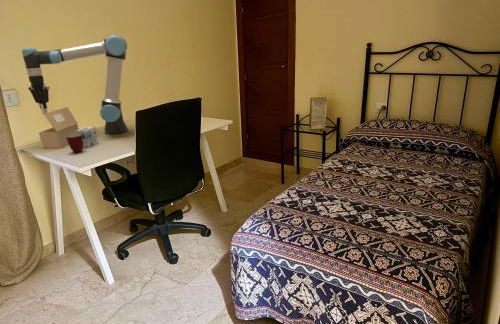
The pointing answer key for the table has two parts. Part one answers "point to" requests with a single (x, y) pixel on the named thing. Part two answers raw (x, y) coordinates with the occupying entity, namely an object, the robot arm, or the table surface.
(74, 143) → the mug
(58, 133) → the carton
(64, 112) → the box lid
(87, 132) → the light bulb box
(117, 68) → the robot arm
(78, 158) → the table surface
